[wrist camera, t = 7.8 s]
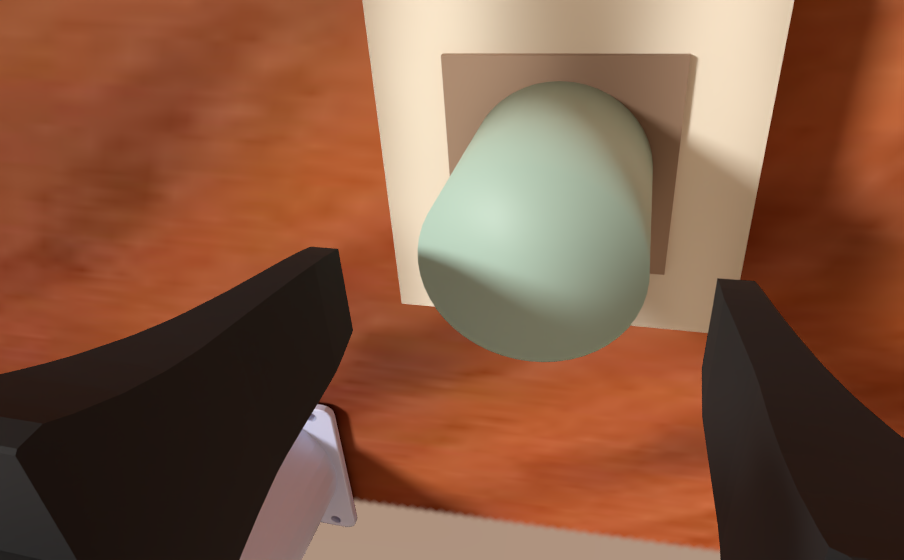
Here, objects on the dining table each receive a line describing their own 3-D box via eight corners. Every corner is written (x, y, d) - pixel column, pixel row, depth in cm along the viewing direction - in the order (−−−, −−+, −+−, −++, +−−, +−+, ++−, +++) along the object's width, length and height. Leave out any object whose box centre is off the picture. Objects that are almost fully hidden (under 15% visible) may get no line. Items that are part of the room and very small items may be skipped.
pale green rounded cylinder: (474, 243, 20) (427, 349, 16) (466, 80, 17) (406, 158, 13) (644, 255, 19) (639, 373, 15) (662, 82, 16) (661, 168, 12)
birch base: (427, 256, 25) (400, 306, 22) (397, -49, 19) (355, -29, 17) (722, 279, 22) (729, 339, 20) (782, -63, 17) (804, -43, 14)
